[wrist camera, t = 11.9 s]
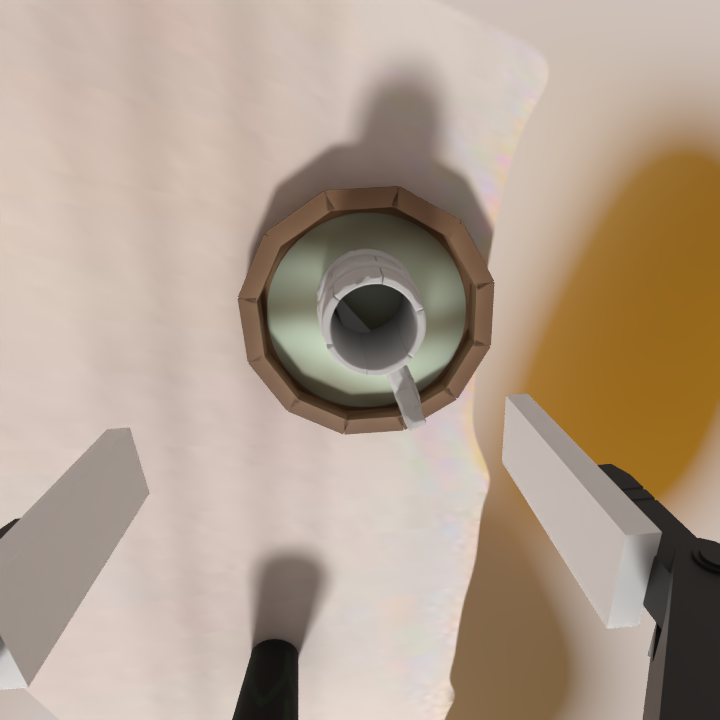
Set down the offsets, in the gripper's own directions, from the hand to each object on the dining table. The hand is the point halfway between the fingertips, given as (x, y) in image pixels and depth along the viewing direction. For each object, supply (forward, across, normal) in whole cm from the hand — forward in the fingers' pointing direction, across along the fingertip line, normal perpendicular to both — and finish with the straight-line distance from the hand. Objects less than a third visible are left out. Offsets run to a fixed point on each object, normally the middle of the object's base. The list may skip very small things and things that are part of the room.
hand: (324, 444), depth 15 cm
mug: (+22, +4, -2) cm, 22 cm away
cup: (+22, -10, -42) cm, 49 cm away
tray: (+22, +3, -2) cm, 23 cm away
